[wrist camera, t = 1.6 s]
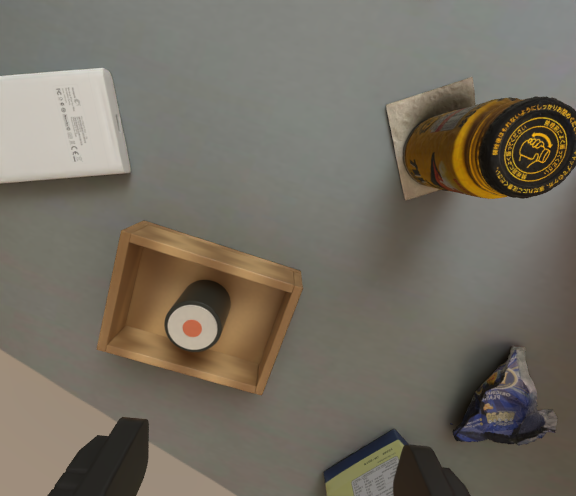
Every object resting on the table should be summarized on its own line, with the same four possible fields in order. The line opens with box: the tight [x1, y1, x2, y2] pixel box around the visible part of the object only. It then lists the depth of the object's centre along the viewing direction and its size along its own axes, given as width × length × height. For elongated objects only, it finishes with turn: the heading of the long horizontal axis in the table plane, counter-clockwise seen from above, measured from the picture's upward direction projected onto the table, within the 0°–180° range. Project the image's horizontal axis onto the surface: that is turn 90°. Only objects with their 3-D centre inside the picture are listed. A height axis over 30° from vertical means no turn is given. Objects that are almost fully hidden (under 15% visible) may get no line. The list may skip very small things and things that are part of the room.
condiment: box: [386, 77, 576, 200], centre depth 22 cm, size 7×8×12 cm
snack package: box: [450, 345, 558, 445], centre depth 33 cm, size 12×6×12 cm
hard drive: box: [0, 68, 131, 183], centre depth 27 cm, size 2×8×12 cm
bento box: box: [97, 221, 303, 395], centre depth 30 cm, size 16×12×4 cm
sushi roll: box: [164, 280, 231, 352], centre depth 29 cm, size 5×5×5 cm
